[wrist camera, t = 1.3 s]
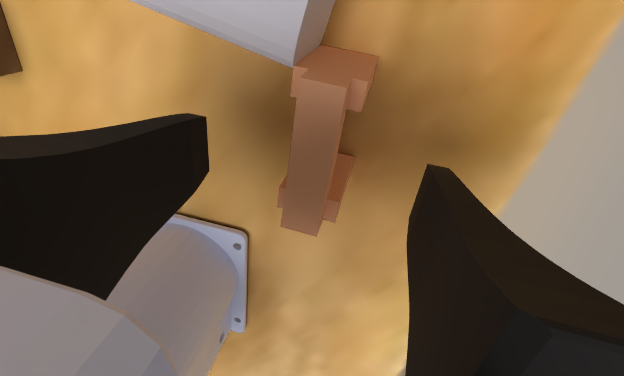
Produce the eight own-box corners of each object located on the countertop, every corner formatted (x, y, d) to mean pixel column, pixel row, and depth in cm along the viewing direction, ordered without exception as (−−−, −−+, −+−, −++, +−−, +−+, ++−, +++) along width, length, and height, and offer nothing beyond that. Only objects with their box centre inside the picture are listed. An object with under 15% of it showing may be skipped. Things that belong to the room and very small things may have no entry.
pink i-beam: (349, 174, 17) (329, 240, 13) (302, 162, 17) (267, 223, 13) (378, 56, 14) (364, 91, 10) (321, 44, 14) (282, 73, 10)
